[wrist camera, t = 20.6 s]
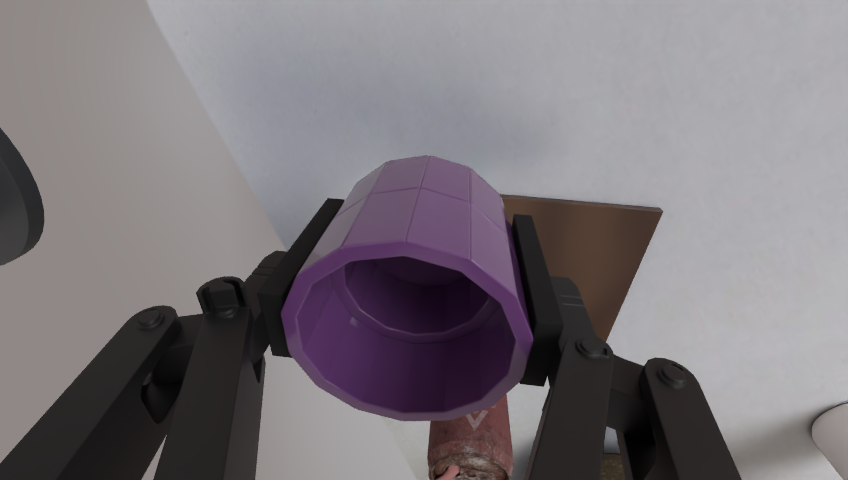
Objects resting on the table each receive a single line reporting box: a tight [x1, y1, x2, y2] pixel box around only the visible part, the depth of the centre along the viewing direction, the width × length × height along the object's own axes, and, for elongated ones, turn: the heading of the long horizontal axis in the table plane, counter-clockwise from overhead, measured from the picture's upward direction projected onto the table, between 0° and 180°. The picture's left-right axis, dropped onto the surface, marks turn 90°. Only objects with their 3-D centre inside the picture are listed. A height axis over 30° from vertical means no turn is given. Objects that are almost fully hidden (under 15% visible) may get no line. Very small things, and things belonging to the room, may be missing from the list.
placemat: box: [499, 194, 663, 342], centre depth 35 cm, size 18×20×1 cm
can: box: [427, 394, 514, 480], centre depth 32 cm, size 6×6×14 cm
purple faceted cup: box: [281, 155, 534, 421], centre depth 14 cm, size 7×8×7 cm
